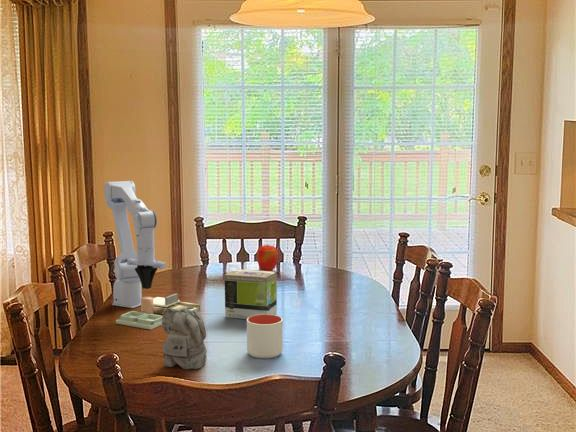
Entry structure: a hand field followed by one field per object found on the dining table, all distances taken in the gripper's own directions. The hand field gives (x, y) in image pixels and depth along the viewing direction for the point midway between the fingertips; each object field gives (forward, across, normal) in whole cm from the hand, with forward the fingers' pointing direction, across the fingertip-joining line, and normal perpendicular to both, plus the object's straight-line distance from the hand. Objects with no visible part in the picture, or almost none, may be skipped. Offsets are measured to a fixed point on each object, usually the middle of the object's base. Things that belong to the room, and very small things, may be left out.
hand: (146, 288), depth 228 cm
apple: (+10, +4, +76) cm, 77 cm away
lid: (+7, -1, +9) cm, 12 cm away
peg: (+9, 0, 0) cm, 9 cm away
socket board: (+9, +4, -7) cm, 12 cm away
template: (+9, +3, +9) cm, 13 cm away
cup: (+10, +52, -14) cm, 55 cm away
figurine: (+10, +38, -31) cm, 50 cm away
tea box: (+10, +30, +16) cm, 36 cm away
